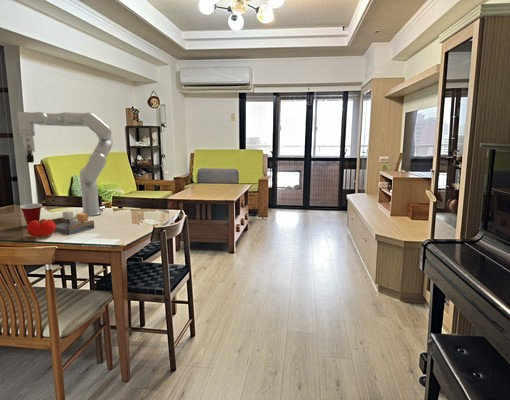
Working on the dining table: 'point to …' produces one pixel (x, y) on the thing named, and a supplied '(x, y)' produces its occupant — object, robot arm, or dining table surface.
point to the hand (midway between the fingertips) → (30, 162)
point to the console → (71, 225)
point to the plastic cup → (31, 212)
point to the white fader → (68, 215)
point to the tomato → (41, 228)
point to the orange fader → (82, 217)
